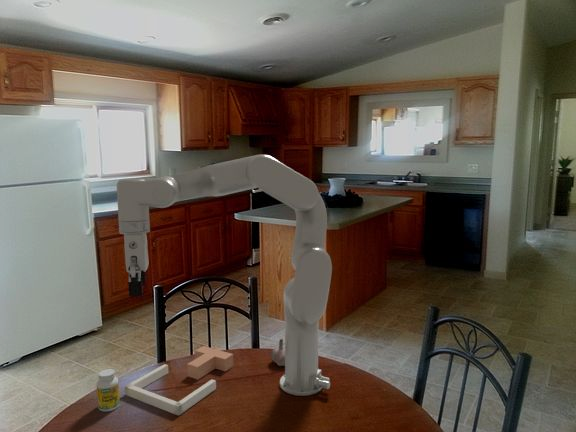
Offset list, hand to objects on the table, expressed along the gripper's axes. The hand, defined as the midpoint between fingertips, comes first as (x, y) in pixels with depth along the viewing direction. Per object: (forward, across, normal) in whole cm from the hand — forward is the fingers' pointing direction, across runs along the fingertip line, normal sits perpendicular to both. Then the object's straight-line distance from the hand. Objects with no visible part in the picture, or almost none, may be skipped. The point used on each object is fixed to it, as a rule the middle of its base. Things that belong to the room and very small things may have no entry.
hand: (137, 290), depth 117 cm
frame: (+31, +1, -7) cm, 31 cm away
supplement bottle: (+31, -2, +8) cm, 32 cm away
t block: (+30, +12, -18) cm, 37 cm away
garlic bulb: (+31, +12, -41) cm, 53 cm away
